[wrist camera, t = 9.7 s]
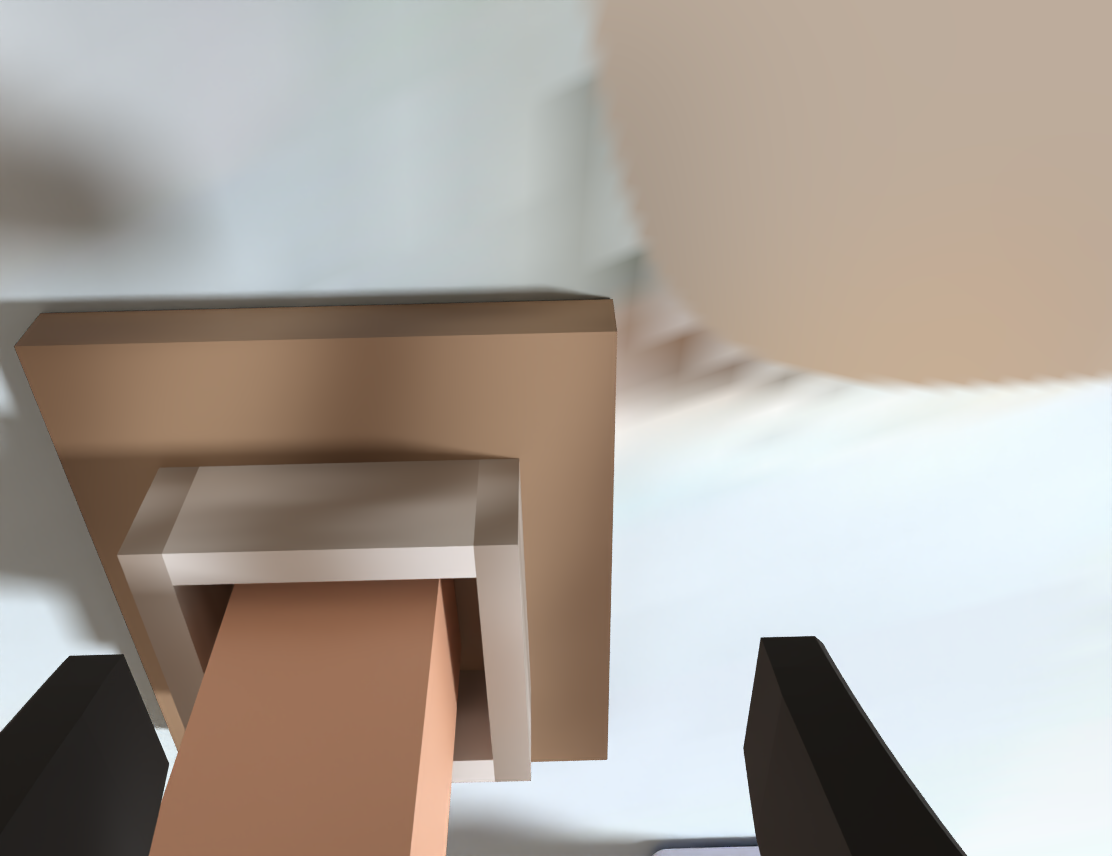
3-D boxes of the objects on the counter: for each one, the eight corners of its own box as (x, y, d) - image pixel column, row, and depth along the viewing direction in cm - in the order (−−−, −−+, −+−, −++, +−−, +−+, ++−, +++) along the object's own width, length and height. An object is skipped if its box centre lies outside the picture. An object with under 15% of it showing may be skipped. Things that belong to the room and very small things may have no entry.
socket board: (613, 299, 19) (627, 411, 16) (604, 721, 27) (613, 849, 24) (40, 313, 19) (-51, 428, 16) (198, 732, 27) (156, 861, 24)
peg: (445, 517, 21) (406, 888, 14) (461, 645, 23) (434, 1012, 17) (255, 523, 21) (129, 897, 14) (290, 651, 23) (197, 1020, 17)
